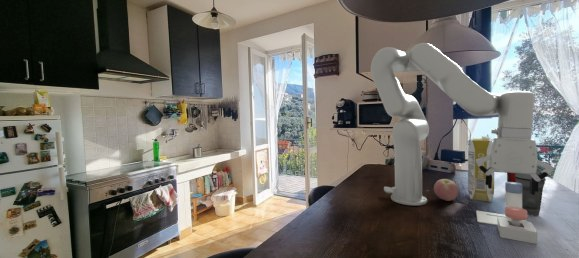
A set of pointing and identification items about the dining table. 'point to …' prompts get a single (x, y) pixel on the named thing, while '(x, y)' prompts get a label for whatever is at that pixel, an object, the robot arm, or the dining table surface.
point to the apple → (446, 189)
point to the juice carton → (475, 174)
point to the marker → (513, 195)
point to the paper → (489, 217)
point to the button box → (517, 230)
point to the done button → (516, 214)
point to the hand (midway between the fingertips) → (509, 190)
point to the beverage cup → (529, 200)
